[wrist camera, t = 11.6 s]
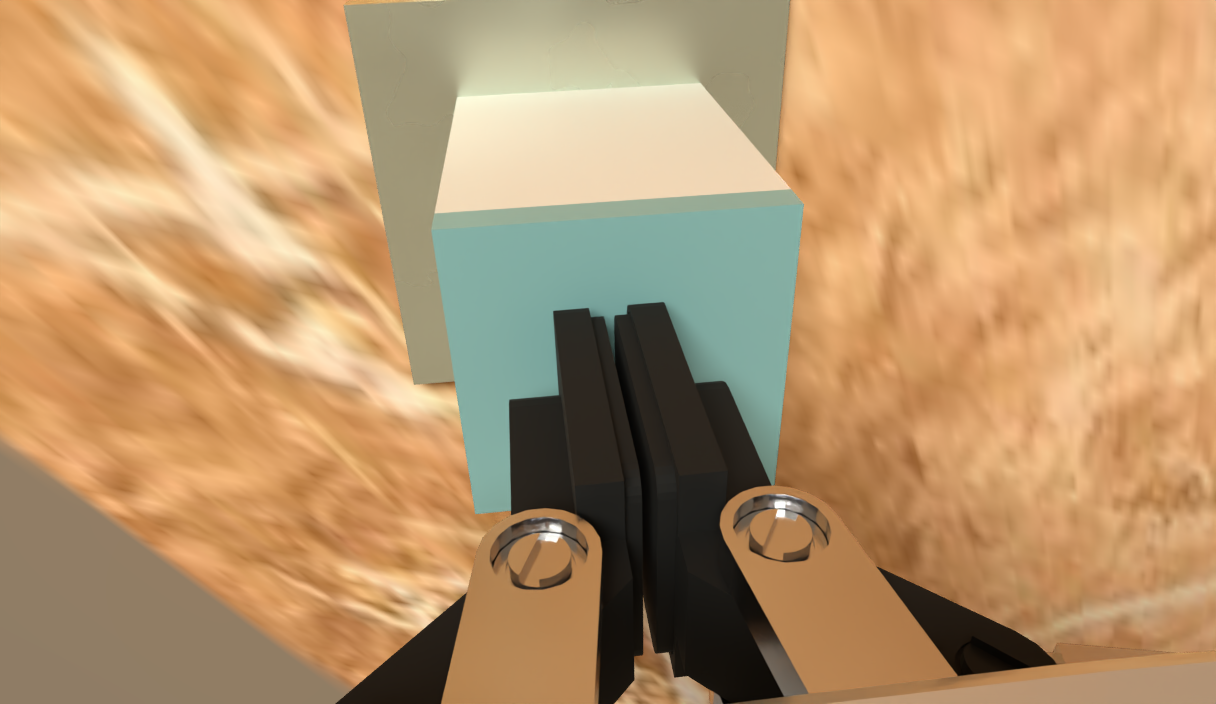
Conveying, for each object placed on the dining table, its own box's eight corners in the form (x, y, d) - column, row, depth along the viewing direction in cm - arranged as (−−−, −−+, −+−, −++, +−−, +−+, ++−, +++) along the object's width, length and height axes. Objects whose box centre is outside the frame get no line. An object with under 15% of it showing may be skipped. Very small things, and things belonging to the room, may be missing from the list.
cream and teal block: (700, 83, 17) (803, 204, 11) (694, 297, 20) (774, 485, 14) (457, 96, 17) (430, 230, 11) (484, 313, 20) (475, 513, 14)
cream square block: (782, -20, 17) (906, 36, 12) (753, 344, 22) (832, 500, 17) (348, -1, 16) (275, 69, 11) (416, 371, 21) (386, 543, 16)
